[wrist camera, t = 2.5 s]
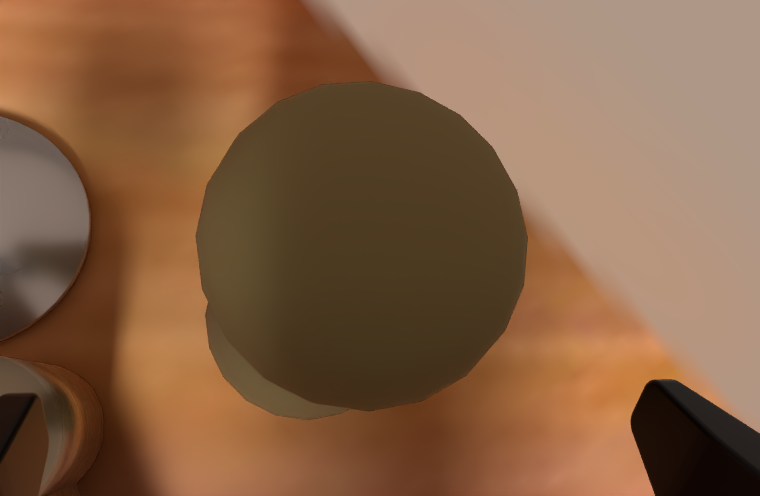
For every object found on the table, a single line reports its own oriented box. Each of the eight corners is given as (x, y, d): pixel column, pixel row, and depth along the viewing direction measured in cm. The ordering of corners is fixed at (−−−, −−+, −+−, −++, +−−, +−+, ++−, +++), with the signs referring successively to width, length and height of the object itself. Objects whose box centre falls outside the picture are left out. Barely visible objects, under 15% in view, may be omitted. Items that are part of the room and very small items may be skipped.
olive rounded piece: (330, 184, 20) (423, -50, 10) (443, 338, 20) (669, 269, 9) (163, 292, 18) (54, 149, 8) (284, 464, 18) (339, 556, 7)
